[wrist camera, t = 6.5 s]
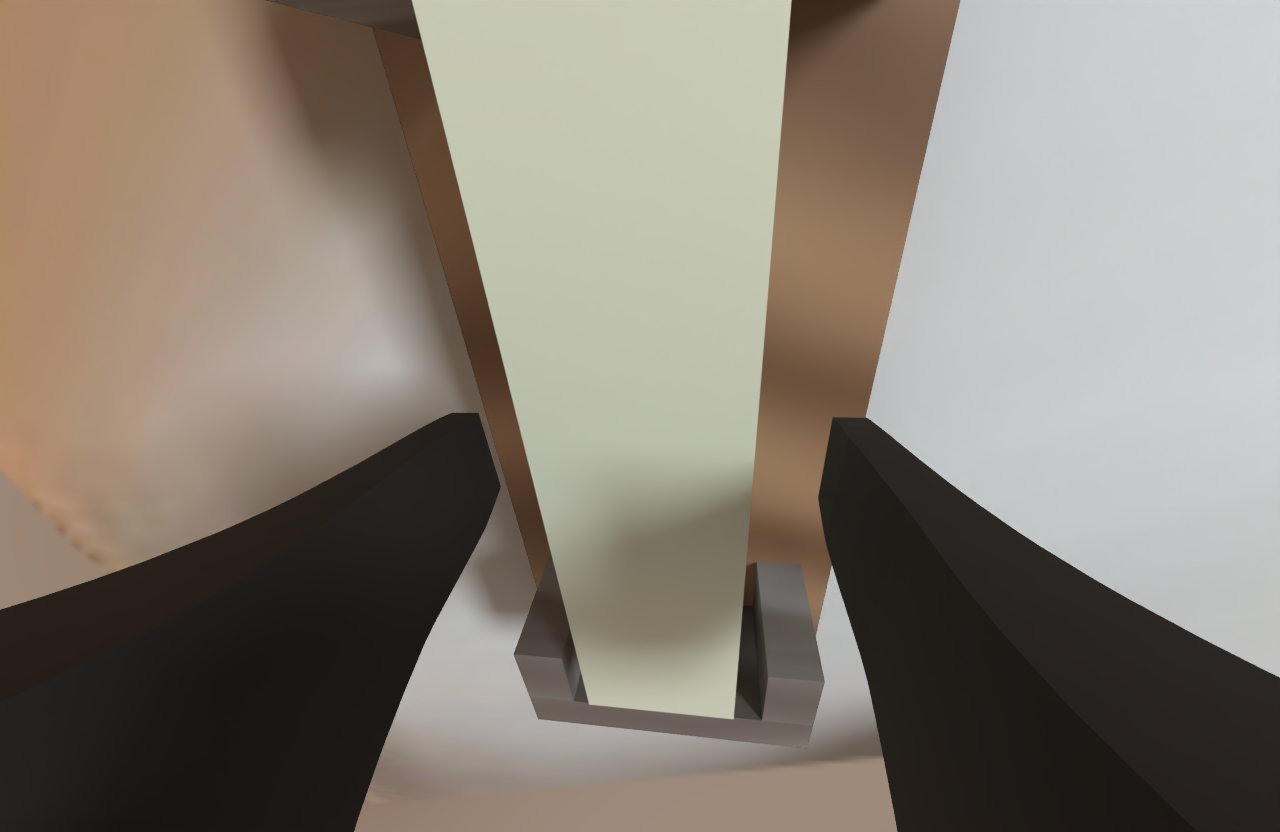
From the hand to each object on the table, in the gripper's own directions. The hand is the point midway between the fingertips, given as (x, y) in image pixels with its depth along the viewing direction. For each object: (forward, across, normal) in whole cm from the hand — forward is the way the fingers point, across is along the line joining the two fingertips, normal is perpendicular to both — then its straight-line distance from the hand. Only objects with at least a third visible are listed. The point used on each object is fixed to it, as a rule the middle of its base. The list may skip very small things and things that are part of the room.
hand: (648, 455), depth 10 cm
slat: (+4, 0, 0) cm, 4 cm away
